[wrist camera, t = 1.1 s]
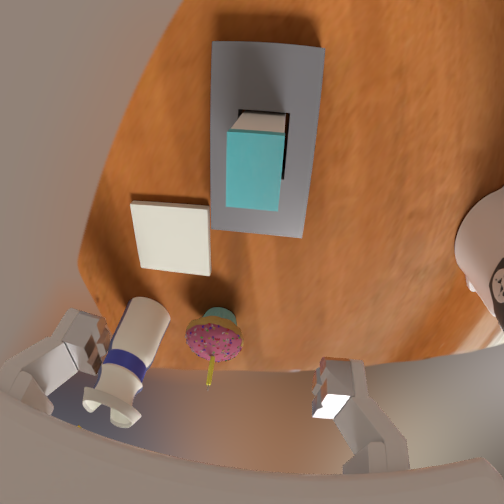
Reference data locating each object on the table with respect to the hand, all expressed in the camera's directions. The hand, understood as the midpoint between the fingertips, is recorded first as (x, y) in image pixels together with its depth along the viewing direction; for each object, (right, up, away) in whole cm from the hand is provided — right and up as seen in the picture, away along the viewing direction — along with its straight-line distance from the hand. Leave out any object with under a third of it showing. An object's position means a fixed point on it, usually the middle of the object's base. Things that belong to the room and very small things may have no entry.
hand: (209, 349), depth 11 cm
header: (+3, +16, +21) cm, 27 cm away
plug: (+3, +16, +21) cm, 27 cm away
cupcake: (-3, -6, +38) cm, 39 cm away
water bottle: (-15, -7, +40) cm, 43 cm away
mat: (-9, +5, +30) cm, 32 cm away
